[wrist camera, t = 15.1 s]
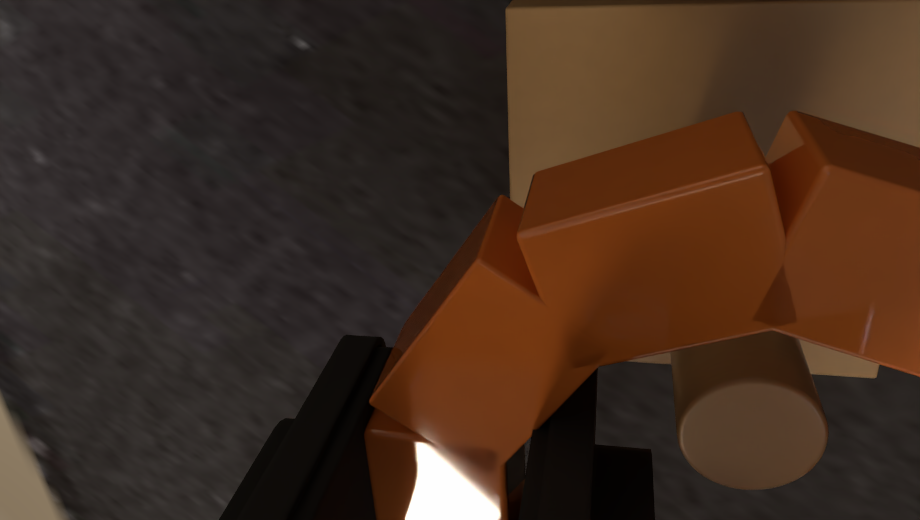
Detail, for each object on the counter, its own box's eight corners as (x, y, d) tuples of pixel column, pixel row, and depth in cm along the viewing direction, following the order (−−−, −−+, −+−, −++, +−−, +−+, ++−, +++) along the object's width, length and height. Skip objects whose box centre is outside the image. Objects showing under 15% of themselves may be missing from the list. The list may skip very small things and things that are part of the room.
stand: (520, 324, 22) (454, 611, 14) (514, -5, 18) (412, 123, 9) (861, 345, 20) (1022, 689, 12) (944, -15, 16) (1280, 130, 8)
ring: (431, 627, 14) (407, 727, 12) (366, 112, 9) (314, 164, 8) (1005, 699, 12) (1063, 827, 10) (1257, 103, 8) (1426, 169, 6)
